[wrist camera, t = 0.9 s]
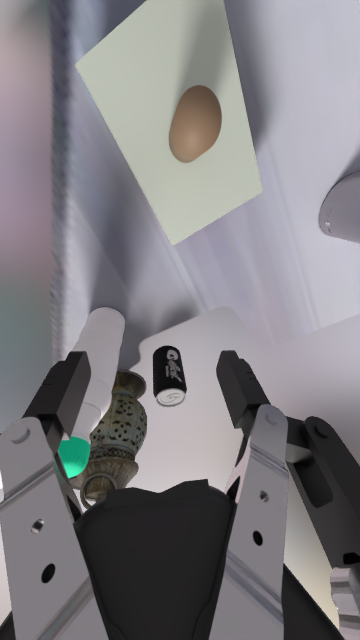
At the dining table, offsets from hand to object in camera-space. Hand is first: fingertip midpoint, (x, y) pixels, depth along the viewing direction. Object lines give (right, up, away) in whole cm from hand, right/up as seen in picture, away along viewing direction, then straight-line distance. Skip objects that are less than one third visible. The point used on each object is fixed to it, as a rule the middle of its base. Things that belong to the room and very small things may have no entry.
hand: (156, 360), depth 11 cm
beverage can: (-2, -6, +34) cm, 34 cm away
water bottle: (-13, +2, +26) cm, 30 cm away
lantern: (-14, -15, +38) cm, 44 cm away
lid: (+2, +21, +8) cm, 23 cm away
